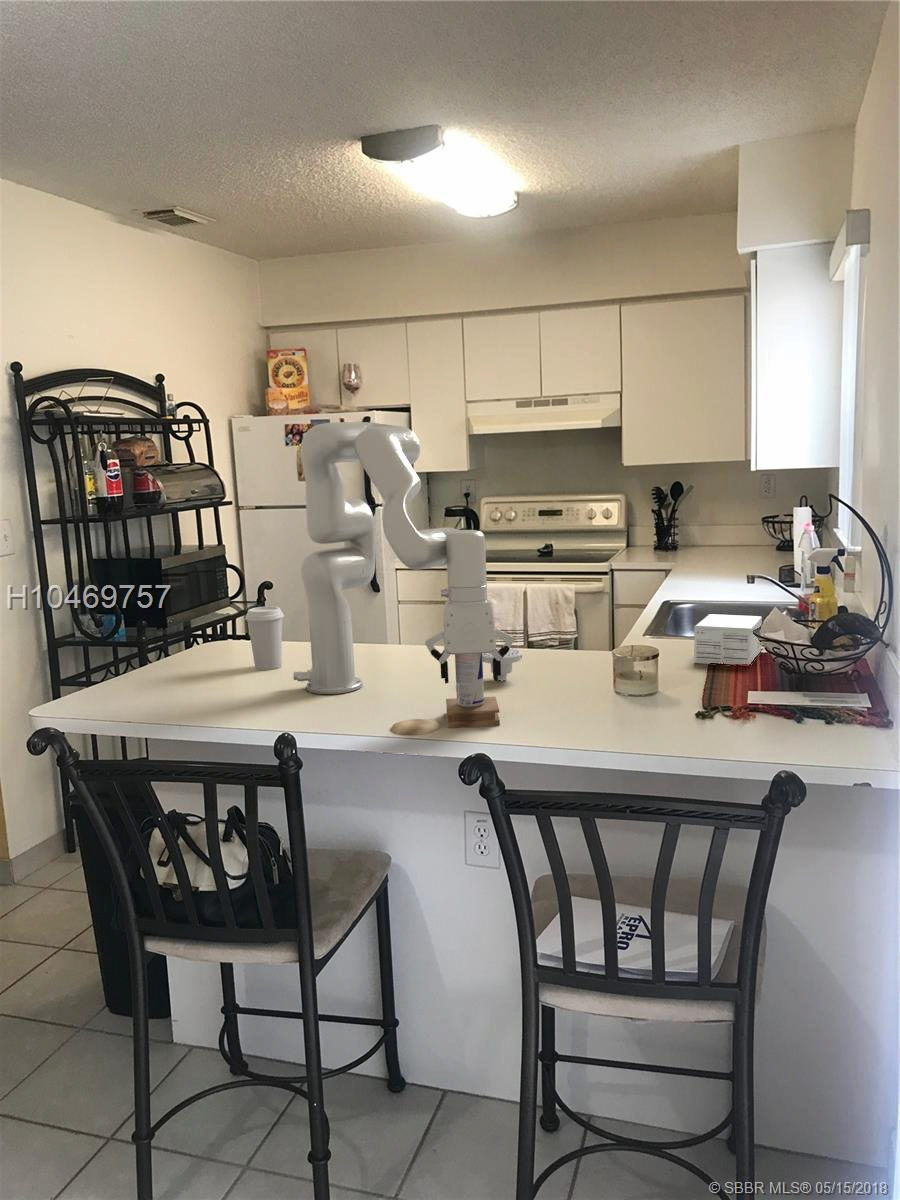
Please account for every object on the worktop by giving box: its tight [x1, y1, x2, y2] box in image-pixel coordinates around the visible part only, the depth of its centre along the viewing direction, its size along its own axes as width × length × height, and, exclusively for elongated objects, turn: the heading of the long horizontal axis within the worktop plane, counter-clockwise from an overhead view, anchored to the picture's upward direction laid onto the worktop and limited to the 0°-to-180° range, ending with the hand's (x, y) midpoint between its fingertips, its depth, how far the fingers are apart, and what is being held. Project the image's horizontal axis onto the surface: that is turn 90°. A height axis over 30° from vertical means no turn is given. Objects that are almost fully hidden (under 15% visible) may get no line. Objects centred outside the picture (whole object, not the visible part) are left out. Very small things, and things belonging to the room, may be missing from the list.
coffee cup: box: [244, 605, 285, 671], centre depth 237 cm, size 10×10×15 cm
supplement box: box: [693, 613, 763, 665], centre depth 228 cm, size 17×13×9 cm
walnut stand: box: [445, 696, 501, 729], centre depth 186 cm, size 10×10×3 cm
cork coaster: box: [391, 718, 440, 736], centre depth 182 cm, size 9×9×1 cm
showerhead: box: [482, 647, 523, 681], centre depth 215 cm, size 9×7×10 cm
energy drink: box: [454, 653, 485, 708], centre depth 184 cm, size 5×5×12 cm
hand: (471, 680), depth 185 cm, fingers open, 9 cm apart
